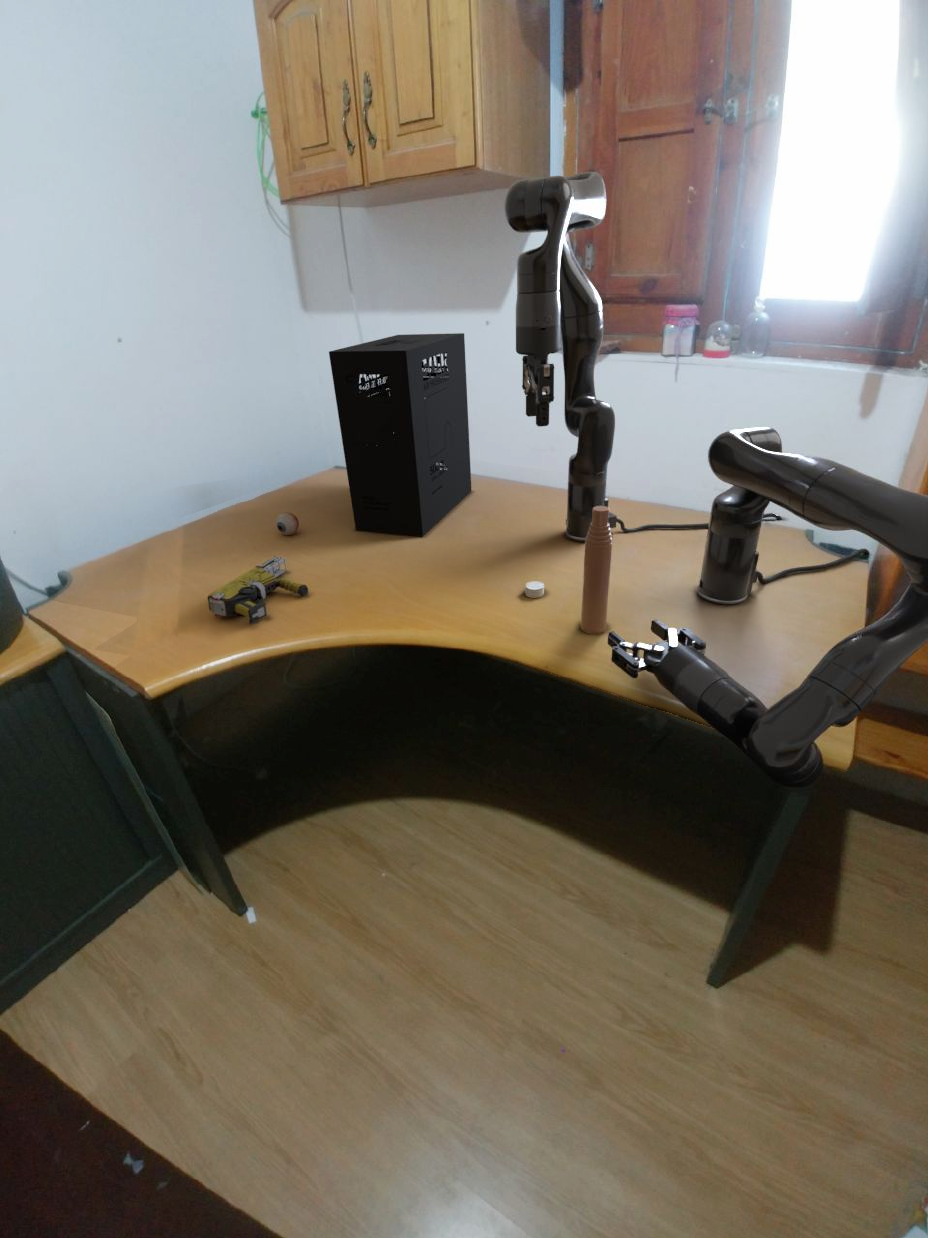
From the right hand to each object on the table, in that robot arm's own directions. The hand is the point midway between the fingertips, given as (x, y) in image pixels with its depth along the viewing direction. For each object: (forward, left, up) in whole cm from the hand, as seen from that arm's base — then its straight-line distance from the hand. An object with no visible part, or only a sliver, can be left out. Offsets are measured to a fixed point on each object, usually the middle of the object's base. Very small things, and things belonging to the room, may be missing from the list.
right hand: (631, 630), depth 102 cm
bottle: (0, -12, -6) cm, 13 cm away
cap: (+3, -29, -4) cm, 30 cm away
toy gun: (+56, -53, -6) cm, 77 cm away
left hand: (+3, -29, +30) cm, 42 cm away
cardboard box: (+10, -92, -6) cm, 93 cm away
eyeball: (+48, -90, -6) cm, 102 cm away
